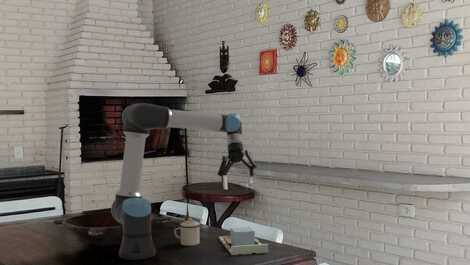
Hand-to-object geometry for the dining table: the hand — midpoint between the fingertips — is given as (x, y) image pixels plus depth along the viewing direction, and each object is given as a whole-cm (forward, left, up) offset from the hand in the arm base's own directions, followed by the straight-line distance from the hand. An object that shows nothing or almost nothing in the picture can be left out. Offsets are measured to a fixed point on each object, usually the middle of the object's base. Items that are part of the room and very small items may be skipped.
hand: (237, 186), depth 238 cm
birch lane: (+8, -7, -25) cm, 28 cm away
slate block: (+8, -7, -26) cm, 28 cm away
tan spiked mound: (-41, +8, -26) cm, 49 cm away
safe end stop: (+19, -16, -25) cm, 35 cm away
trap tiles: (+1, -1, -25) cm, 25 cm away
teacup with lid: (-15, -19, -26) cm, 35 cm away
